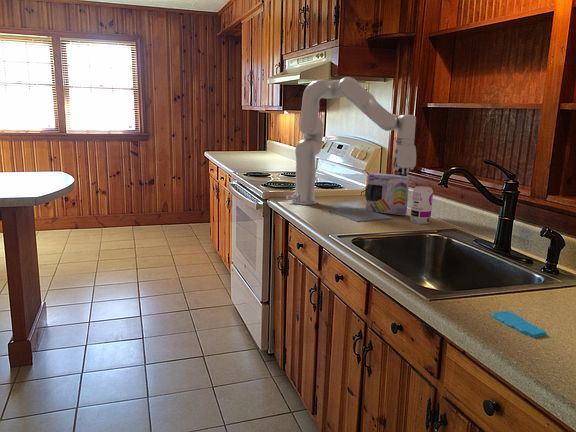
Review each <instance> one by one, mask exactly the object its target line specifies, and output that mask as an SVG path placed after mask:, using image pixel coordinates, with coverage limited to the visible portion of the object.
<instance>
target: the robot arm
mask: <svg viewBox="0 0 576 432" xmlns="http://www.w3.org/2000/svg"><path fill="white" fill-rule="evenodd" d="M338 98H345V99H346V100H348V101H349V102H350V103H351V104H353V105H354V106H355V107H356V108H357V109H358V110H359V111H361V112H362V113H363V114H364V115H365V116H366V117H367V118H369V119H370V120H371V121H372V122H373V123H374V124H376V125H377V126H378V127H379V128H380V129H382V130H383V131H385V132H391V131H396V130H397V139H396V140H395V143H396V144H395V148H394V152H393V158H392V166H393V171H397V173H398V174H399V175H400V176H408V175H409V173H410V172H411V171H412V170H414V168H415V167H416V165H417V149H416V145H415V139H416V138H415V137H416V136H415V135H416V122H417V121H416V120H417V118H416V115H414V114H395V113H391V112H389V110H387V109H386V108H384V107H383V106H382V105H381V104H380V103H379V102H378V101H377V99H376V98H375V96H374V95H373V94H372V93H371V92H370V91H368V90H367V89H366V88H364V87H363V86H362V85H361V84H359V81H357V80H356V79H355V78H354V77H351V76H345V77H342V78H341V79H335V80H333V79H331V80H328V79H321V78H319V79H316V80H313V81H312V82H310V83H309V84H308V85H306V87H305V89H304V91H303V95H302V100H301V101H302V102H301V110H300V119H299V130H300V132H301V134H302V135H303V139H300V140H299V141H298V142H297V143H296V146H295V152H294V153H295V164H296V165H295V188H294V189H295V190H294V192H293V194H292V195H290V194H289V195H288V194H287V195H286V196H285V198H286V200H291V203H293V204H296V205H305V206H310V205H316V204H317V203H318V200H317V199H315V190H316V157H317V155H319V154H320V152H321V150H322V145H323V134H324V124H323V123H324V122H323V120H322V119H321V118H320V117H319V114H320V100H321V99H327V100H329V99H338Z"/></svg>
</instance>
